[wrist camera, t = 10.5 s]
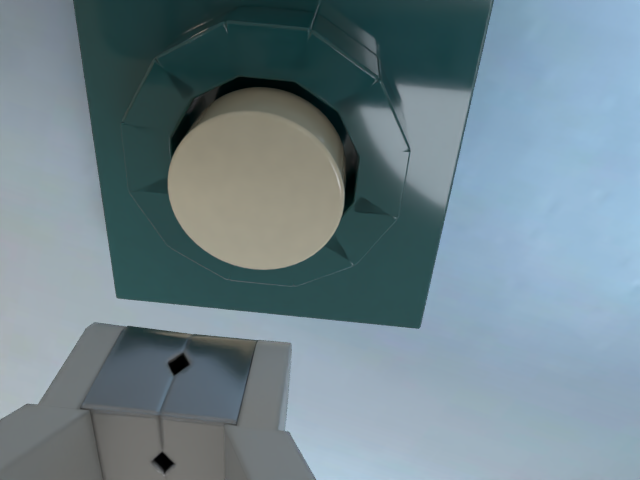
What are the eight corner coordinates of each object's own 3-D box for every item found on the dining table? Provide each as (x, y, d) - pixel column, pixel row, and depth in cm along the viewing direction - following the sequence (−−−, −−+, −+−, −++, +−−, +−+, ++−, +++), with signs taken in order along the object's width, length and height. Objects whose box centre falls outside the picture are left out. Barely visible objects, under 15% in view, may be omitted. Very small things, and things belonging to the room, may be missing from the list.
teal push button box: (107, -136, 15) (7, -142, 11) (488, -102, 15) (538, -94, 11) (146, 246, 21) (93, 336, 17) (412, 272, 21) (425, 369, 17)
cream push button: (182, 78, 13) (160, 103, 12) (354, 94, 13) (353, 121, 12) (190, 225, 15) (172, 263, 14) (338, 240, 15) (335, 279, 14)
